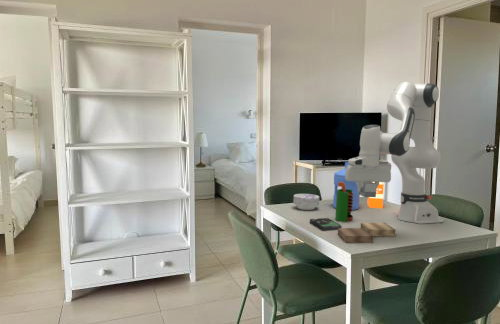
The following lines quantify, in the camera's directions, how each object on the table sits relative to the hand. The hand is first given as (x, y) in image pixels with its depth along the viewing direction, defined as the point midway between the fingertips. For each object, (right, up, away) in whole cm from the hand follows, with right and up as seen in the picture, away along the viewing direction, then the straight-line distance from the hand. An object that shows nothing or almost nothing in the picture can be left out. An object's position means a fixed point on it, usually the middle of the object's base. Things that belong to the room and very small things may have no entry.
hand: (367, 191), depth 171 cm
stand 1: (-6, -21, -2) cm, 22 cm away
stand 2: (+7, -20, +8) cm, 23 cm away
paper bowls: (-19, -15, +55) cm, 60 cm away
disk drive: (-15, -19, +18) cm, 30 cm away
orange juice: (+24, -14, +63) cm, 69 cm away
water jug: (+5, -15, +59) cm, 61 cm away
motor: (-3, -18, +30) cm, 35 cm away
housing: (0, -2, 0) cm, 2 cm away
